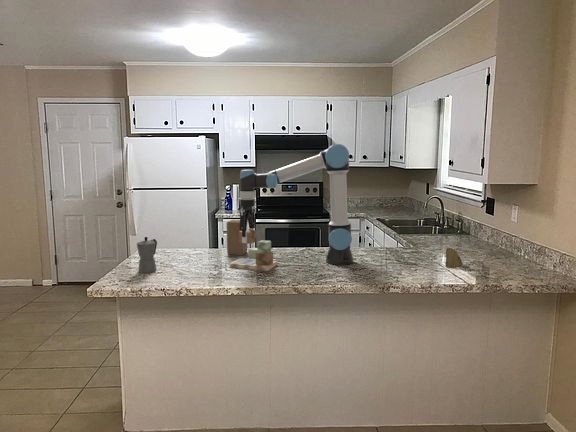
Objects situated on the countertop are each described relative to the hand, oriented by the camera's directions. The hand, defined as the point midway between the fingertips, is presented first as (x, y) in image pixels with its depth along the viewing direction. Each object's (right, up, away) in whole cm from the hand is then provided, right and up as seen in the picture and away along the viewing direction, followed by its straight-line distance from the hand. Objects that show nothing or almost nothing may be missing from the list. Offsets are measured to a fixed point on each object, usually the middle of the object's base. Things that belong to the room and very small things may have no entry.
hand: (247, 241), depth 239 cm
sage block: (+3, -11, +16) cm, 20 cm away
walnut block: (0, 0, 0) cm, 0 cm away
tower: (+9, -12, -2) cm, 15 cm away
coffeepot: (-51, -15, -8) cm, 53 cm away
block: (-9, -9, +30) cm, 33 cm away
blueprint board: (+3, -13, +1) cm, 14 cm away
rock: (+111, -14, -1) cm, 112 cm away
